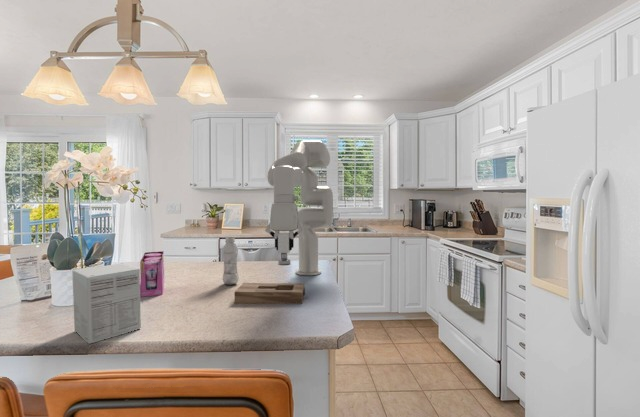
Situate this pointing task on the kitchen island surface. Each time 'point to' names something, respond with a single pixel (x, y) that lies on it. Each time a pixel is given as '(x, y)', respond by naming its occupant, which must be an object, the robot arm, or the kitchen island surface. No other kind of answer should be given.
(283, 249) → the steel peg
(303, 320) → the kitchen island surface
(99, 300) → the supplement box
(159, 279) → the gum box
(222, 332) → the kitchen island surface
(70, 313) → the kitchen island surface
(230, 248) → the plastic bottle
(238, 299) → the keyhole plate
